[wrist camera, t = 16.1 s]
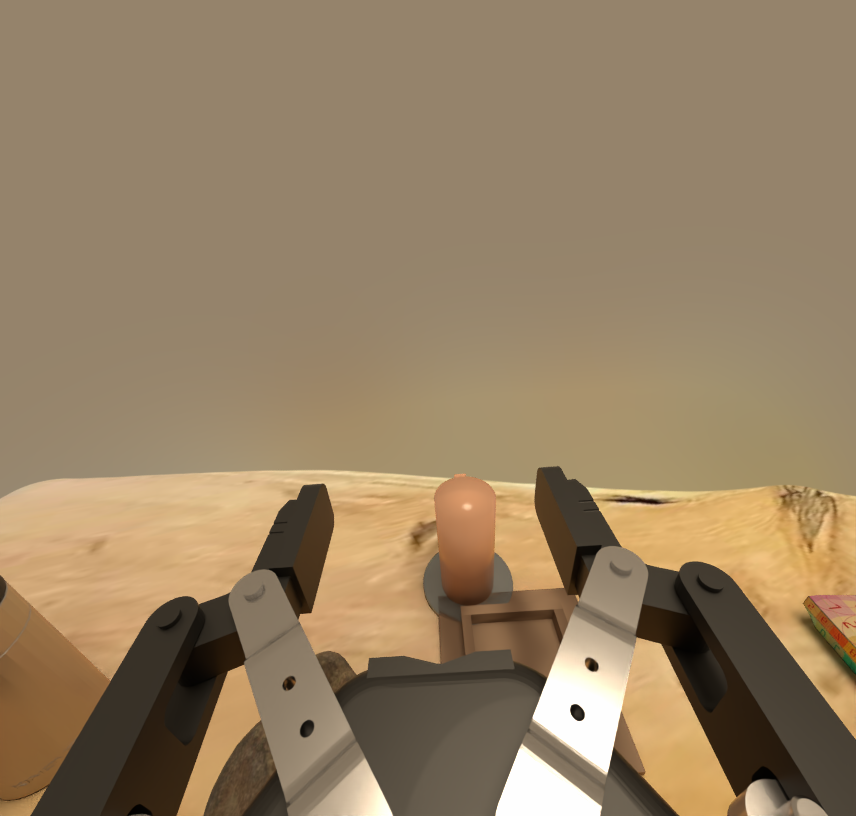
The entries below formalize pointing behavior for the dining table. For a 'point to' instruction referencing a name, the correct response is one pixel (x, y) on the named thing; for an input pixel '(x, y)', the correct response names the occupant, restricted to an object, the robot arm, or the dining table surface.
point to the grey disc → (435, 590)
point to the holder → (521, 638)
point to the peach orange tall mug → (466, 538)
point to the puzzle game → (836, 623)
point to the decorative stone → (261, 754)
